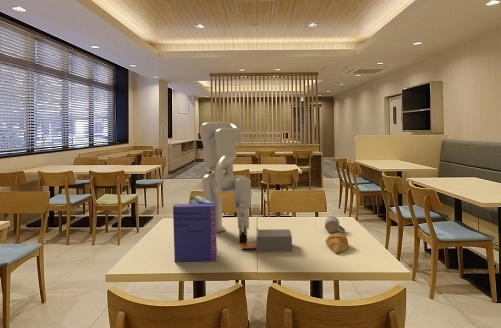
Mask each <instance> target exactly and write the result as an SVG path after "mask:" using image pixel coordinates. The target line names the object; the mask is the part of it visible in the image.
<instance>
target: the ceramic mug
mask: <svg viewBox="0 0 501 328" xmlns="http://www.w3.org/2000/svg"><path fill="white" fill-rule="evenodd" d="M324 229H325V230H326V232H328V233H329V234H334V233H337V232H338V233H341V234H343V233H345V231H346V229H345V228H344V227H343V226H341V225H340V221H339V219H338V218H337V217H336V216H333V215H331V216H327V217H326V219H325V220H324Z"/></svg>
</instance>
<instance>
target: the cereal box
mask: <svg viewBox="0 0 501 328" xmlns="http://www.w3.org/2000/svg"><path fill="white" fill-rule="evenodd" d="M172 218H173V243H174V244H173V245H174V246H173V250H174V251H173V252H174V253H173V255H174V263H193V262H194V263H197V262H199V263H200V262H203V263H205V262H206V263H207V262H217V258H218V254H217V252H218V251H217V250H218V249H217V248H218V247H217V233H216V204H191V203H177V204H175V203H174V204H173V207H172Z"/></svg>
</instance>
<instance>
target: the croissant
mask: <svg viewBox="0 0 501 328" xmlns="http://www.w3.org/2000/svg"><path fill="white" fill-rule="evenodd" d="M325 244H326V246H327V247H328V248H329V249H330V250H331V251H333V253H335V254H339V253H342V252H344V251H346V250H348V249H349V240H348V238H347V236H346V235H345V234H343V233H341V232H335V233H331V234H329V236H327V237H326V239H325Z"/></svg>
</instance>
